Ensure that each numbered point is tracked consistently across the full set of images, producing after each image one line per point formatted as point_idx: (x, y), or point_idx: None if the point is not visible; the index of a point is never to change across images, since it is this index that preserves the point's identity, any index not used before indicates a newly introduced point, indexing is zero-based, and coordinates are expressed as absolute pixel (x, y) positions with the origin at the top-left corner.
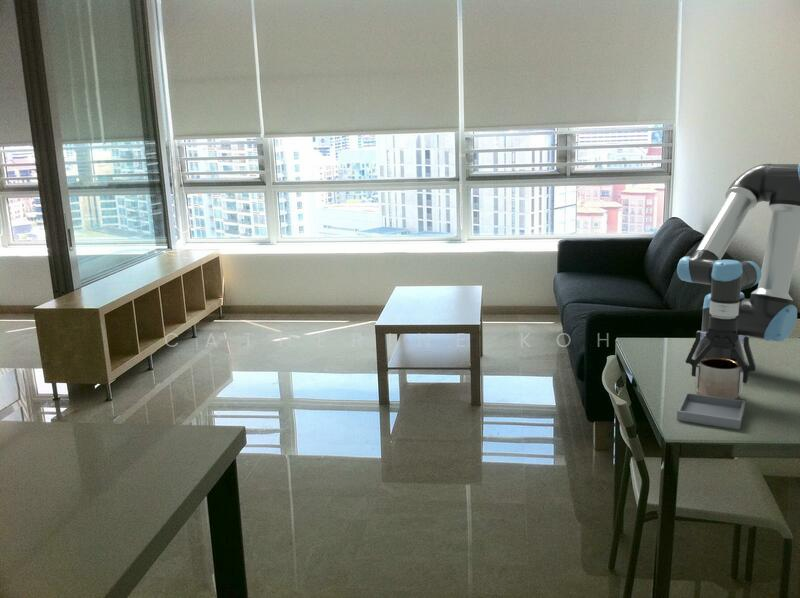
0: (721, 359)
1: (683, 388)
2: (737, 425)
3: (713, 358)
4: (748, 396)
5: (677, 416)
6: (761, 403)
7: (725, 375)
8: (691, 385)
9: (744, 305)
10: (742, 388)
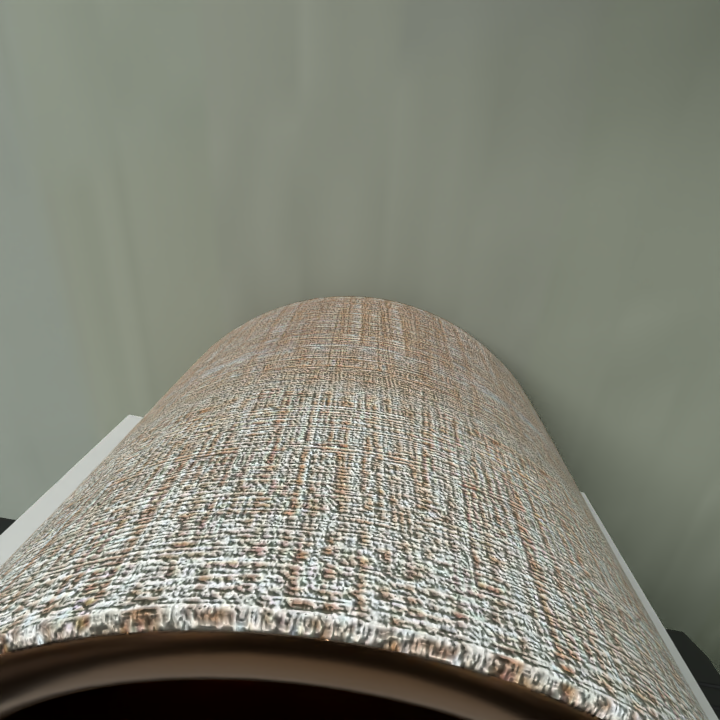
0: (335, 682)
1: (41, 350)
2: None
3: (79, 691)
4: (632, 430)
5: None
6: (688, 562)
7: None
8: (91, 235)
9: None
10: (597, 517)
